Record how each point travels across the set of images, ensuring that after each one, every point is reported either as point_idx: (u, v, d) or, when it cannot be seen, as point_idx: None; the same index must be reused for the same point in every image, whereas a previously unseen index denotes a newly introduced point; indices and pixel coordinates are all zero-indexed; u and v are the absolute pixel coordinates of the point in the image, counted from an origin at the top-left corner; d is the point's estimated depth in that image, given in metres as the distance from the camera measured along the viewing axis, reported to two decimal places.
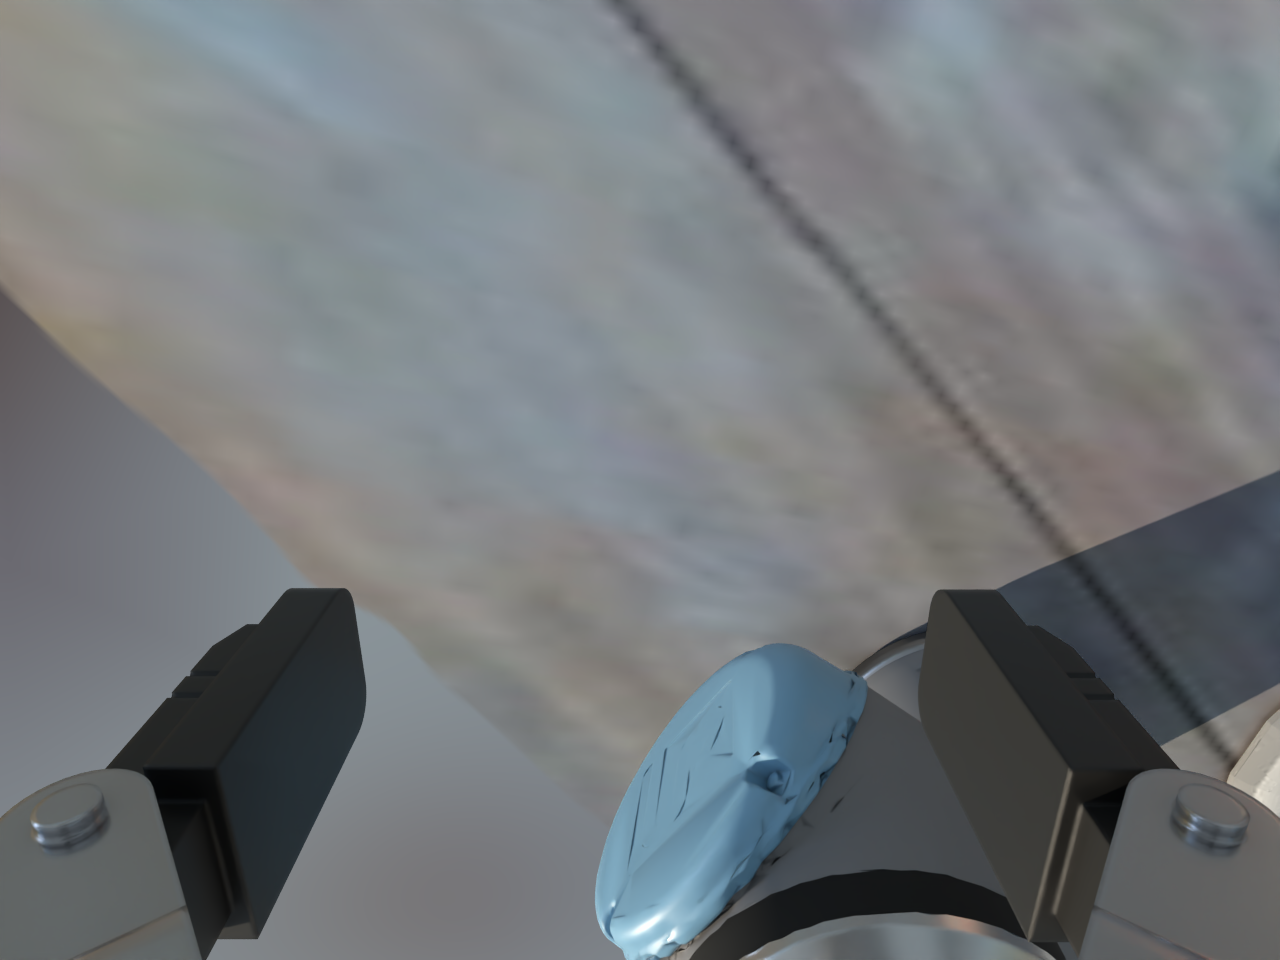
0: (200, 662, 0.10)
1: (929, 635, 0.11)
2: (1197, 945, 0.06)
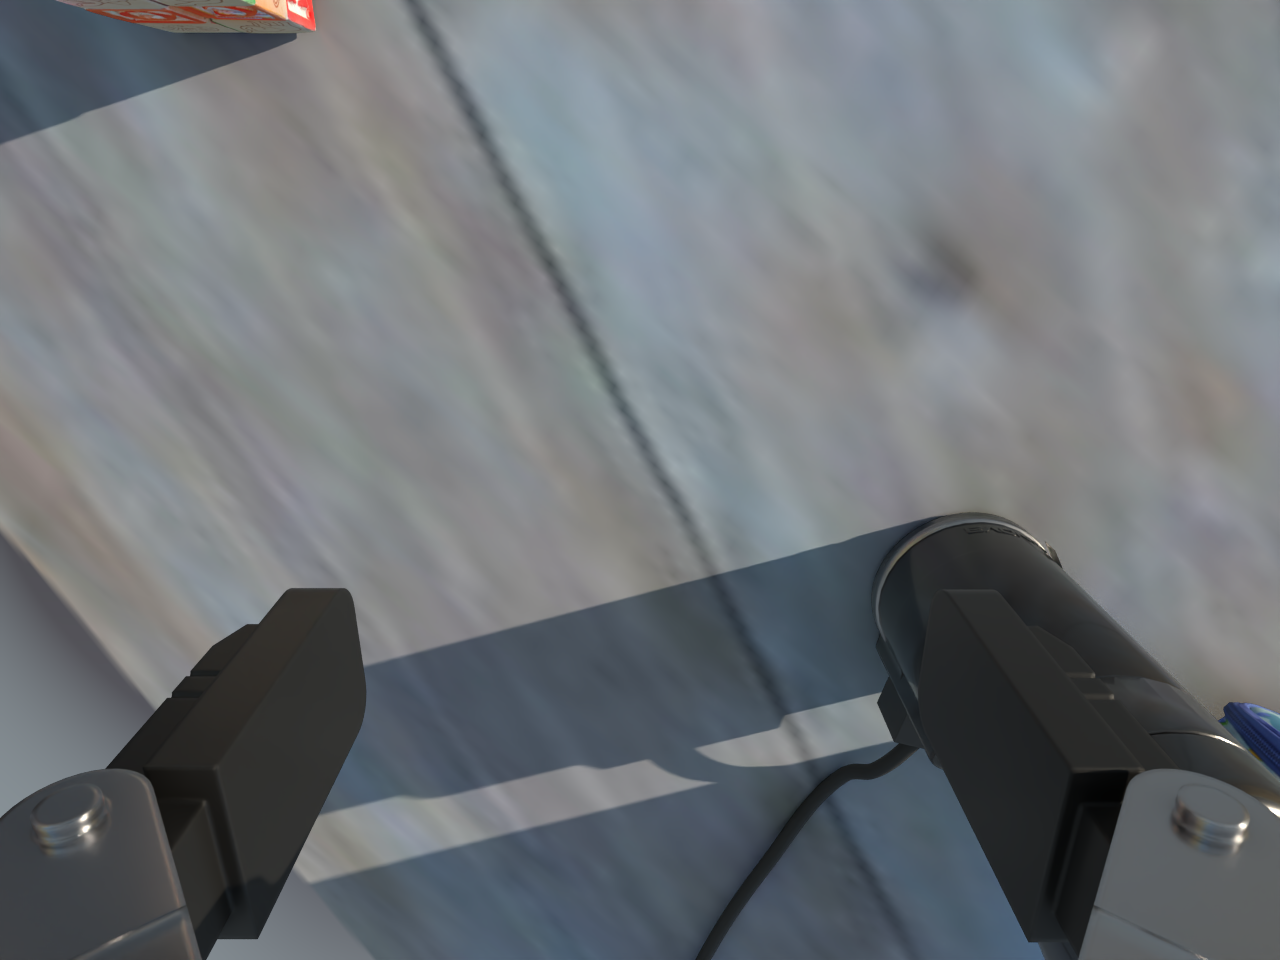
0: (200, 662, 0.10)
1: (929, 635, 0.11)
2: (1198, 945, 0.06)
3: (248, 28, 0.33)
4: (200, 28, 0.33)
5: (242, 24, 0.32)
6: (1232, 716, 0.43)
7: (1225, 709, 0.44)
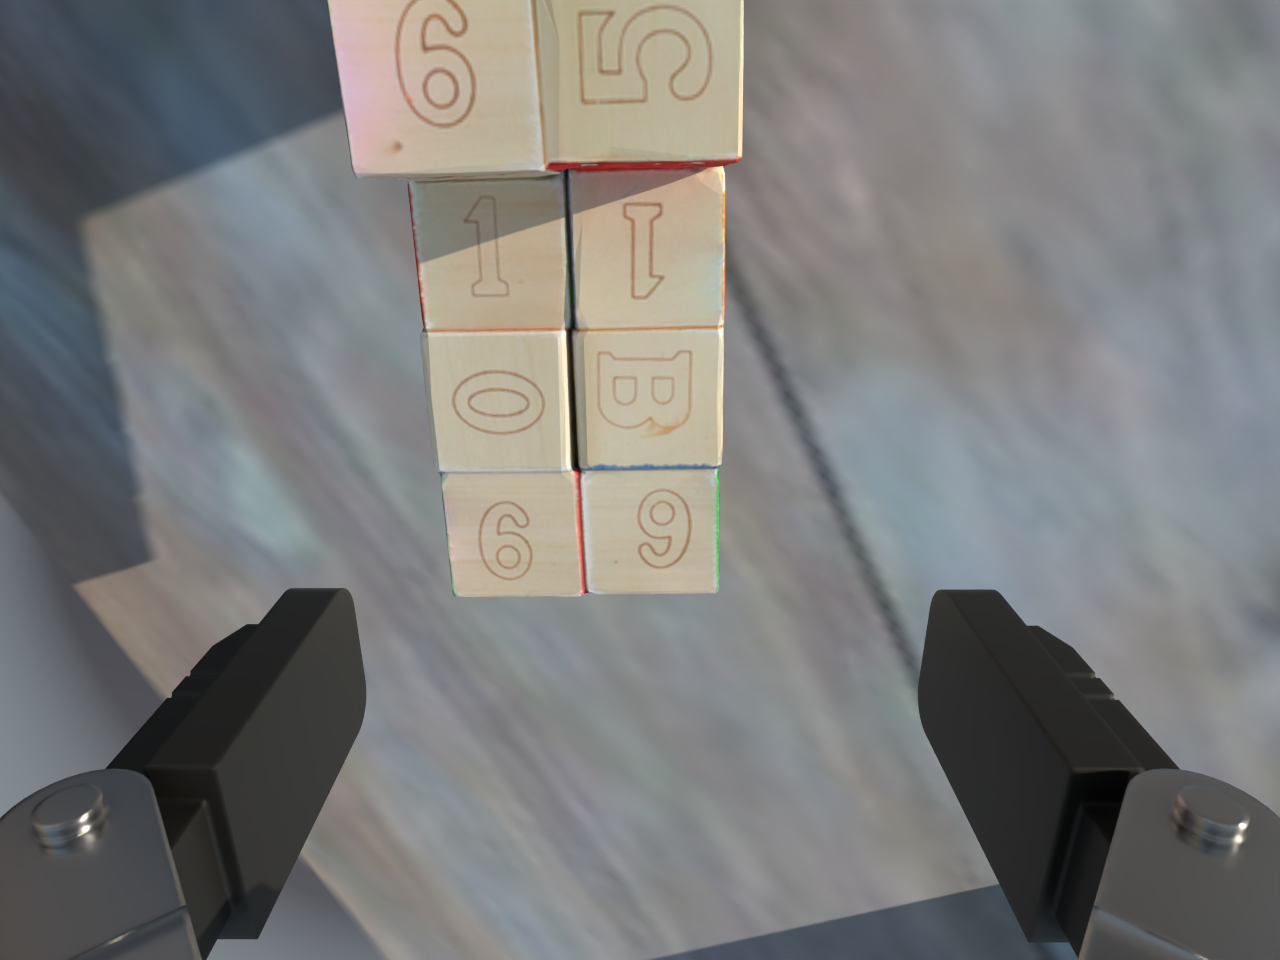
0: (200, 662, 0.10)
1: (929, 635, 0.11)
2: (1198, 945, 0.06)
3: None
4: None
5: None
6: None
7: None
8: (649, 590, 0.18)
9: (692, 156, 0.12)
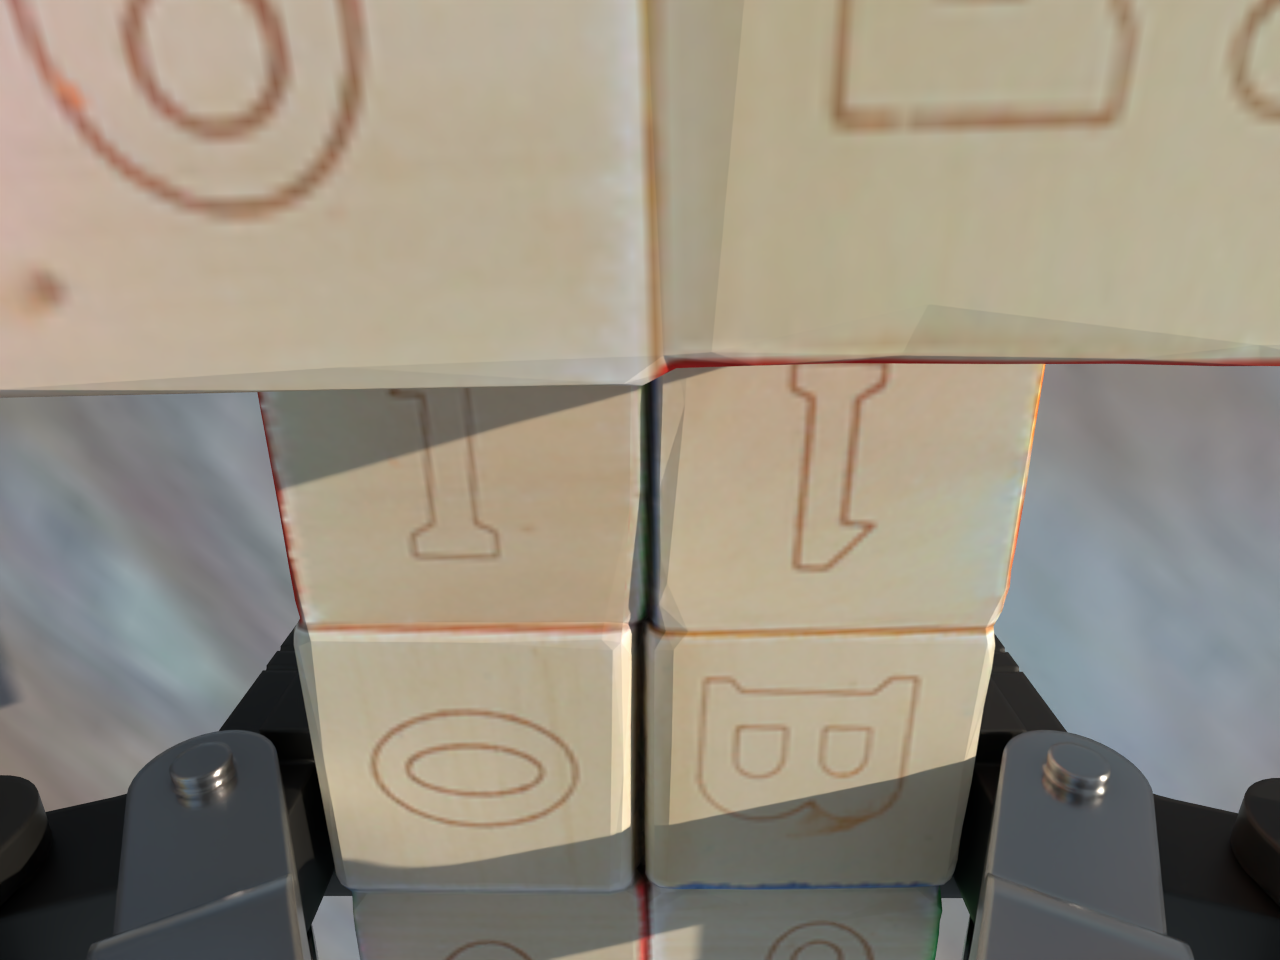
0: (288, 637, 0.10)
1: None
2: (1079, 896, 0.06)
3: None
4: None
5: None
6: None
7: None
8: None
9: (1257, 347, 0.03)
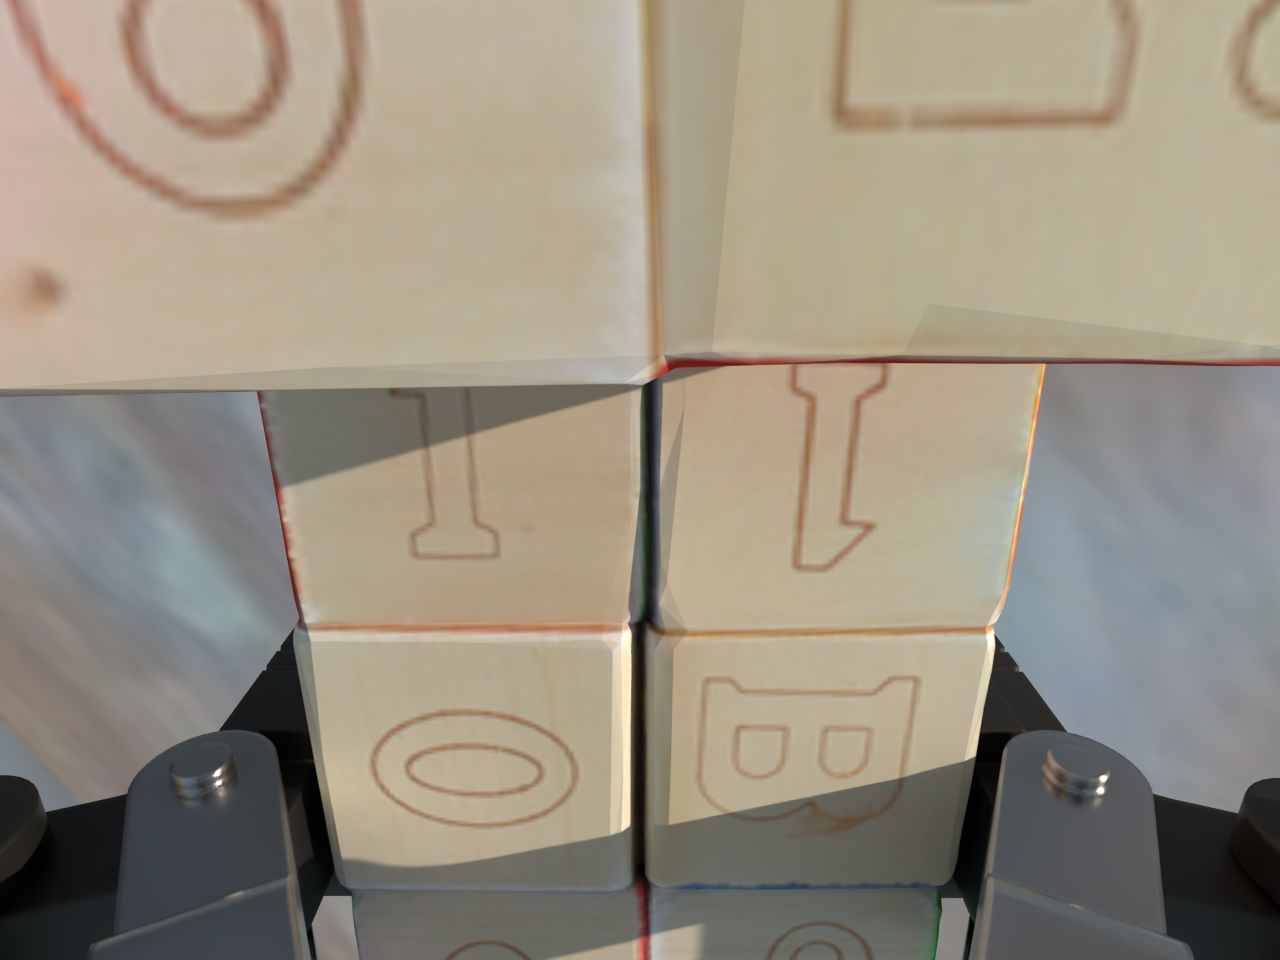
0: (288, 638, 0.10)
1: None
2: (1079, 896, 0.06)
3: None
4: None
5: None
6: None
7: None
8: None
9: (1257, 347, 0.03)
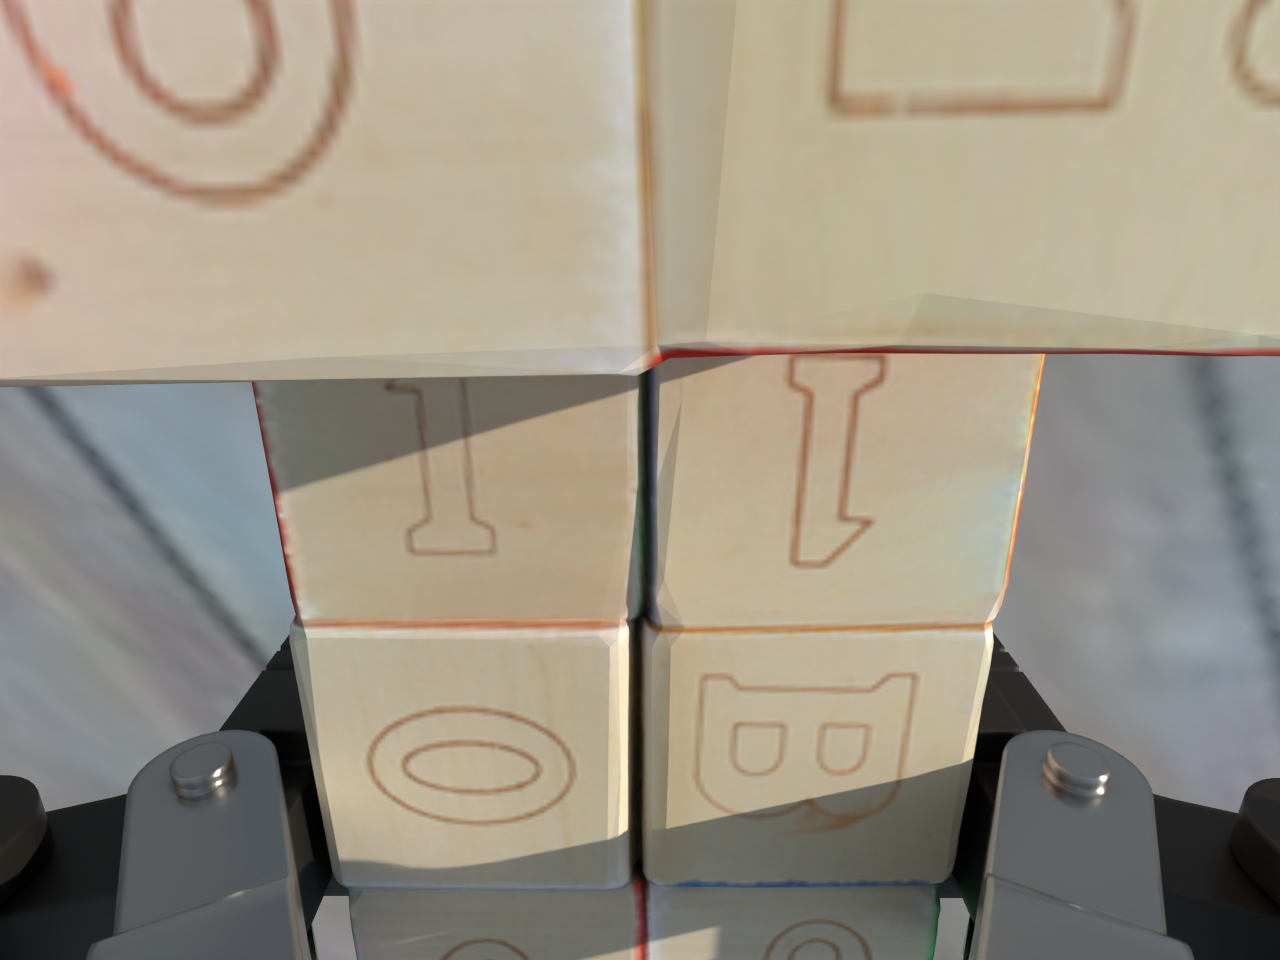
0: (288, 638, 0.10)
1: None
2: (1079, 896, 0.06)
3: None
4: None
5: None
6: None
7: None
8: None
9: (1256, 337, 0.03)
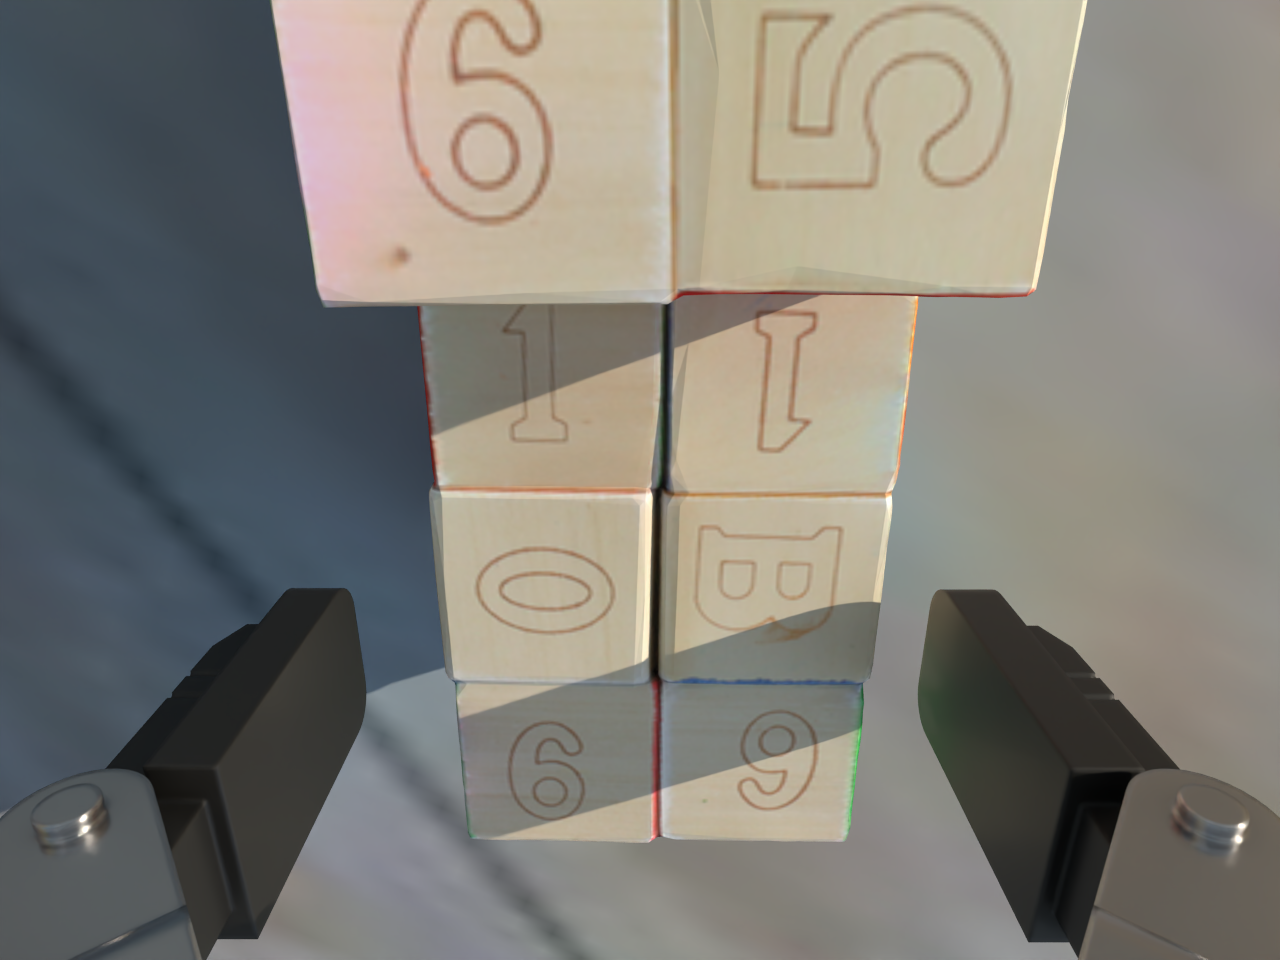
0: (200, 662, 0.10)
1: (929, 635, 0.11)
2: (1197, 945, 0.06)
3: None
4: None
5: None
6: None
7: None
8: (749, 837, 0.13)
9: (947, 287, 0.07)
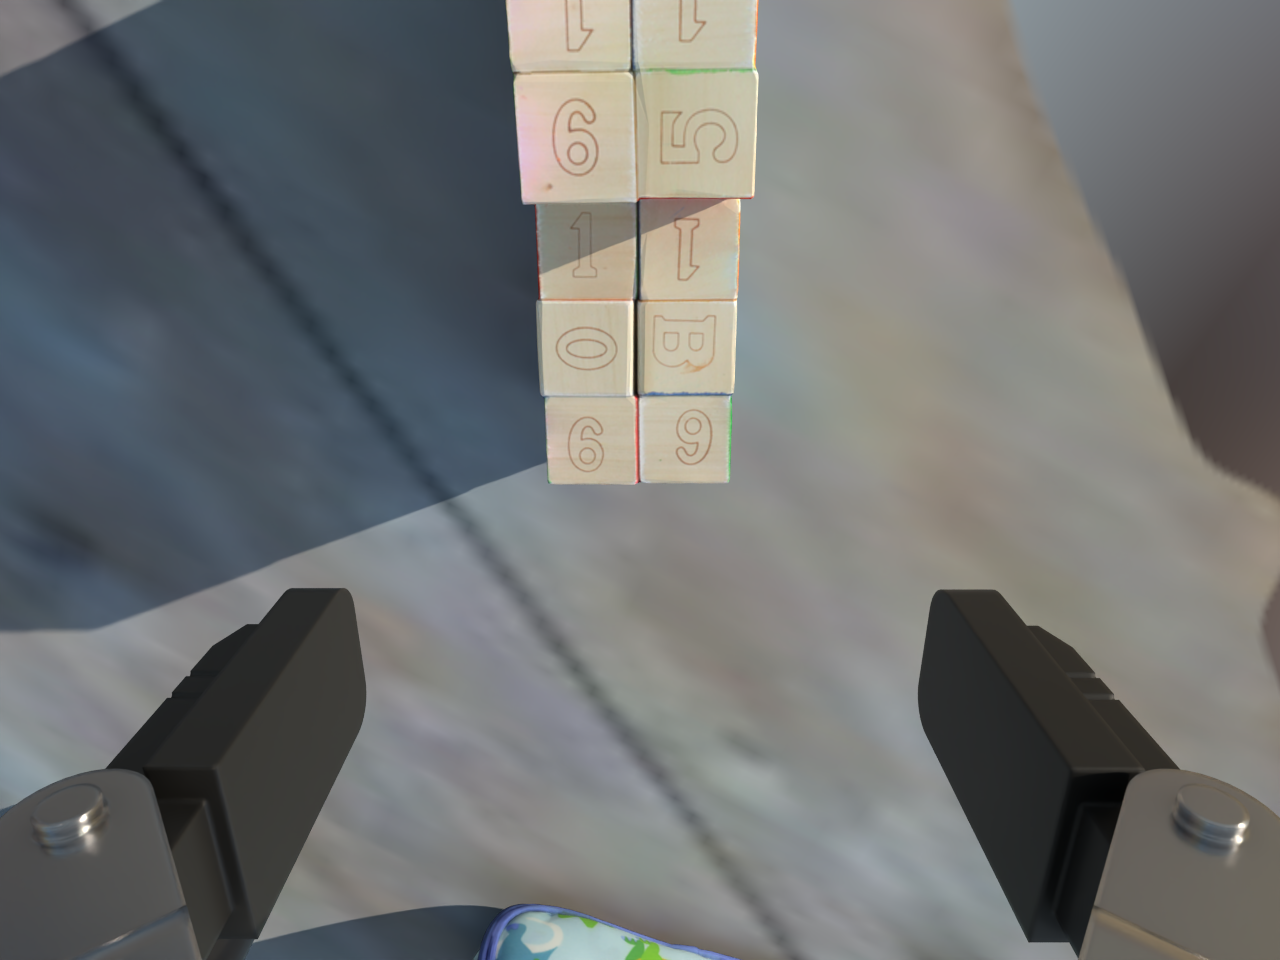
0: (200, 662, 0.10)
1: (929, 635, 0.11)
2: (1197, 945, 0.06)
3: None
4: None
5: None
6: (487, 928, 0.43)
7: (496, 916, 0.44)
8: (682, 480, 0.27)
9: (725, 195, 0.21)
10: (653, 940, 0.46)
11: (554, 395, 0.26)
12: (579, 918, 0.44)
